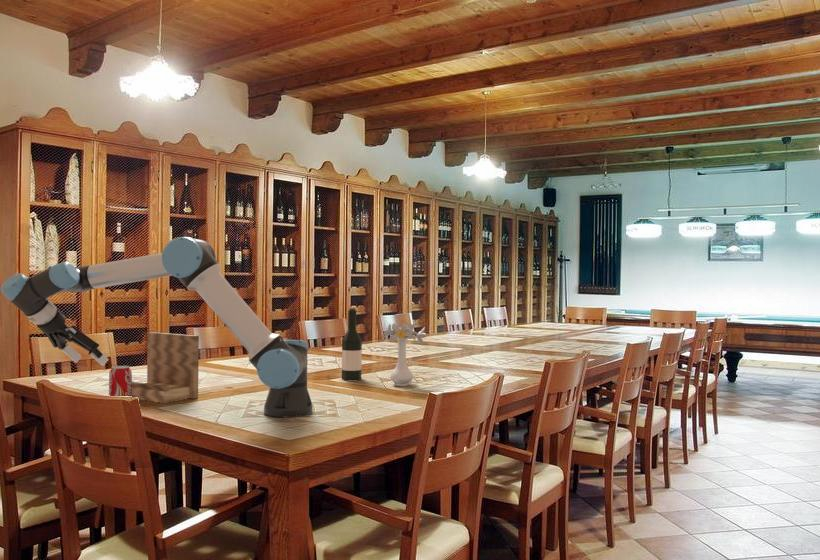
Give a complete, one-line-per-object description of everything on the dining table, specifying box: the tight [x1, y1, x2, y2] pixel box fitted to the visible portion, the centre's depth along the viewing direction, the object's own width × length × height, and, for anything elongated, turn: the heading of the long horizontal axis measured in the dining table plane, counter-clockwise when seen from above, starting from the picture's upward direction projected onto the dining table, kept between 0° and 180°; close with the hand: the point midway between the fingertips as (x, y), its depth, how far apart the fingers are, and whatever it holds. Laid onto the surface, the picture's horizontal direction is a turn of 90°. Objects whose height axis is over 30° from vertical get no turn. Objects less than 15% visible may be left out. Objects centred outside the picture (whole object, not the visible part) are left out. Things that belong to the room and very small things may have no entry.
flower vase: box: [381, 322, 427, 387], centre depth 257 cm, size 13×18×25 cm
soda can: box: [108, 365, 133, 396], centre depth 216 cm, size 7×7×12 cm
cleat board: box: [132, 331, 200, 404], centre depth 224 cm, size 24×12×22 cm, turn 61°
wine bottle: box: [341, 307, 363, 381], centre depth 269 cm, size 8×8×30 cm
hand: (91, 361), depth 206 cm, fingers open, 13 cm apart
